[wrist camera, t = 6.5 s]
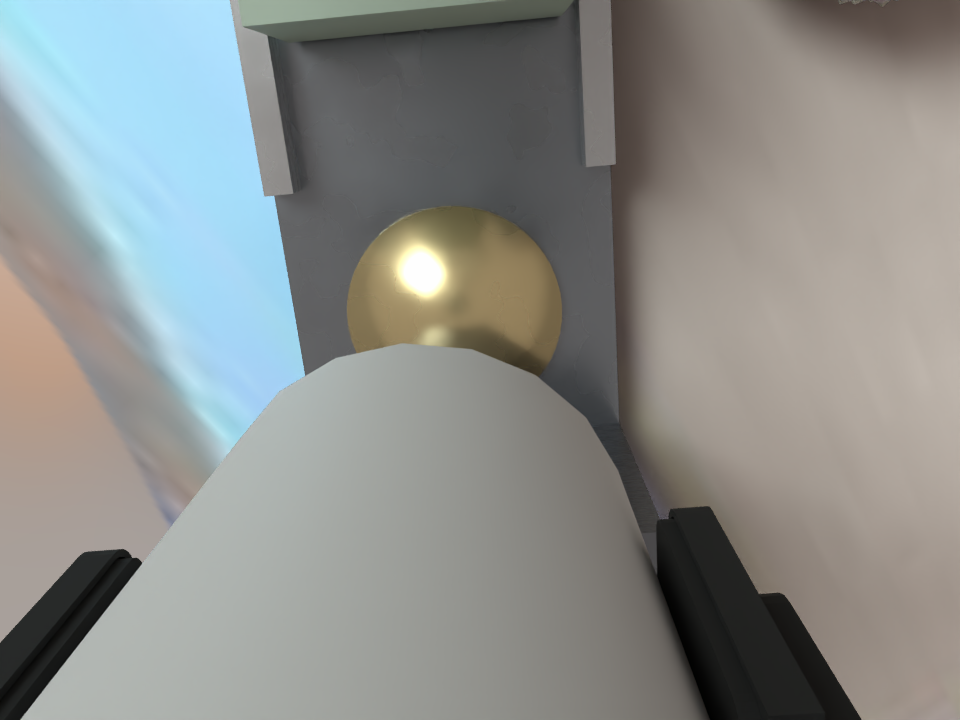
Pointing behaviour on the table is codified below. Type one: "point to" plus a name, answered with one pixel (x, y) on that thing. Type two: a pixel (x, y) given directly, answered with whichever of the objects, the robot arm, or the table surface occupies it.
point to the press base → (453, 198)
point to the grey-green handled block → (382, 15)
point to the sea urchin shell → (879, 0)
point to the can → (394, 566)
